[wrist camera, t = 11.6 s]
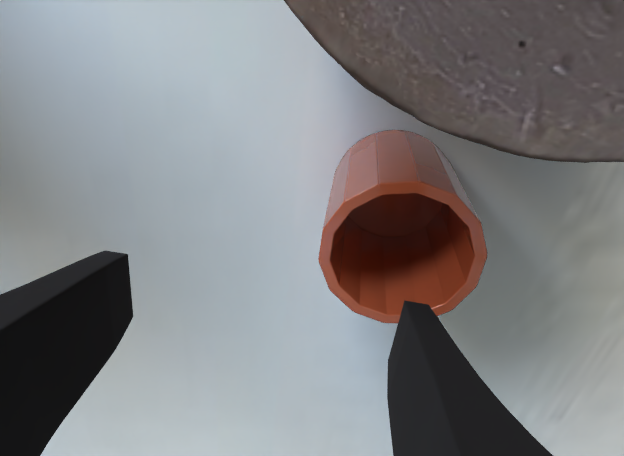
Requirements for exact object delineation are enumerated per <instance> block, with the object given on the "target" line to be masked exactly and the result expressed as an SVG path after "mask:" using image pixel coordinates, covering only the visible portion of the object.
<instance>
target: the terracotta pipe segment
mask: <svg viewBox="0 0 624 456" xmlns="http://www.w3.org/2000/svg"><path fill="white" fill-rule="evenodd" d="M486 259H487V249H486V244H485V239H484V234H483V229H482V224H481V222H480V220H479V218H478V216H477V214H476V212H475V210H474V208H473V206H472V204H471V202H470V200H469V198H468V196H467V195H466V193H465V191H464V189H463V187H462V185H461V183H460V181H459V179H458V177H457V175H456V173H455V171H454V170H453V168H452V166H451V164H450V162H449V161H448V160H447V158H446V157H445V156H444V154H443V153H442V152H441V150H440V149H439V148H438V147H437V146H436V145H435V144H434V143H433V142H431V141H430V140H428V139H427V138H425V137H423V136H421V135H419V134H416V133H413V132H409V131H404V130H387V131H382V132H377V133H374V134H371V135H369V136H367V137H365V138H363V139H361V140H360V141H358V142H357V143H356V144H354V145H353V146H352V147H351V148H350V149H349V150H348V151H347V152H346V153H345V155H344V156H343V158H342V159H341V161H340V163H339V165H338V167H337V169H336V171H335V174H334V179H333V184H332V189H331V193H330V198H329V203H328V207H327V212H326V217H325V222H324V226H323V232H322V239H321V245H320V252H319V264H320V266H321V269H322V271H323V274H324V277H325V279H326V282H327V285H328V287H329V289H330V291H331V292H332V293H333V294H335V295H336V296H337V297H338V298H339V299H340V300H341V301H342V302H343V303H344V304H345V305H346V306H348V307H349V308H350V309H351V310H352V311H354V312H355V313H358V314H361V315H363V316H366V317H369V318H372V319H374V320H377V321H380V322H383V323H398V322H399V319H400V315H401V311H402V307H403V304H404V300H405V301H411V302H417V303H423V304H429V306H430V307H431V309H432V310H433V312H434V313H435V314H436V316H439V315H441V314H444V313H446V312H449V311H451V310H453V309H454V308H455V307H456V306H457V305H458V304H459V303H460V302H461V301H462V300H463V299H464V298H465V297H466V296H467V295H468V294H470V293H471V292H472V291H473V290H474V289H475V288H476V286H477V284H478V281H479V279H480V276H481V273H482V270H483V267H484V264H485V261H486Z"/></svg>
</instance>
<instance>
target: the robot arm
mask: <svg viewBox="0 0 624 456" xmlns="http://www.w3.org/2000/svg"><path fill="white" fill-rule="evenodd" d="M132 318H133V310H132V298H131V286H130V274H129V263H128V254H123V253H117V252H111V251H103V252H100V253H97V254H94V255H92V256H89V257H87V258H85V259H82V260H80V261H78V262H75V263H73V264H71V265H69V266H66V267H64V268H62V269H60V270H57V271H55V272H53V273H50V274H48V275H46V276H44V277H41V278H39V279H37V280H35V281H32V282H30V283H28V284H25V285H23V286H21V287H18V288H16V289H13V290H11V291H8V292H6V293H3V294H1V295H0V456H40V455H41V453H42V452H43V450H44V448H45V447H46V445H47V443H48V442H49V440H50V439H51V437H52V436H53V434H54V433H55V432H56V430H57V429H58V427H59V426H60V424H61V423H62V421H63V420H64V419H65V417H66V416H67V415H68V413H69V412H70V411H71V409H72V408H73V407H74V405H75V404H76V403H77V401H78V400H79V399H80V397H81V396H82V395H83V393H84V392H85V390H86V389H87V388H88V386H89V385H90V384H91V382H92V381H93V380H94V378H95V377H96V376H97V374H98V373H99V372H100V370H101V369H102V367H103V366H104V365H105V363H106V362H107V361H108V359H109V358H110V356H111V355H112V354H113V352H114V351H115V349H116V347H117V346H118V344H119V342H120V340H121V339H122V337H123V335H124V333H125V331H126V329H127V328H128V326H129V324H130V322H131V320H132ZM388 408H389V418H390V427H391V436H392V446H393V455H394V456H553V455H552V454H551V453H550V452H549V451H547V450H546V449H545V448H544V447H543V446H542V445H541V444H540V443H539V442H538V441H537V440H536V439H535V438H534V437H533V436H532V435H531V434H530V433H529V432H528V431H527V430H526V429H525V428H524V427H523V426H522V424H521V423H520V422H519V421H518V420H517V419H516V418H515V417H514V416H513V415H512V414H511V413H510V412H509V411H508V410H507V409H506V407H505V406H504V405H503V404H502V403H501V402H500V401H499V400H498V398H497V397H496V396H495V395H494V394H493V392H492V391H491V390H490V389H489V388H488V386H487V385H486V384H485V383H484V382H483V380H482V379H481V378H480V377H479V375H478V374H477V373H476V371H475V370H474V369H473V368H472V366H471V365H470V363H469V362H468V361H467V359H466V358H465V357H464V355H463V354H462V353H461V351H460V350H459V348H458V347H457V346H456V344H455V343H454V341H453V340H452V338H451V337H450V335H449V334H448V332H447V331H446V329H445V328H444V326H443V325H442V323H441V322H440V320H439V319H438V317H437V316H436V314H435V313H434V312H433V310H432V309H431V307H430V306H429V304H423V303H417V302H411V301H405V300H404V304H403V307H402V311H401V315H400V319H399V322H398V326H397V330H396V333H395V337H394V341H393V345H392V348H391V352H390V356H389V359H388Z"/></svg>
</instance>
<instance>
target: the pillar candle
mask: <svg viewBox="0 0 624 456" xmlns="http://www.w3.org/2000/svg"><path fill="white" fill-rule="evenodd" d="M284 1H285V2H286V4H287V5H288V6H289V8H290V9H291V11H292V12H293V13H294V14H295V15H296V17H297V18H298V19H299V20H300V21H301V23H302V24H303V25H304V26H305V28H306V29H307V30H308V31H309V32H310V34H311V35H312V36H313V37H314V39H315V40H316V41H317V42H318V43H319V44H320V45H321V46H322V47H323V49H324V50H325V51H326V52H327V53H328V54H329V55H330V56H331V57H333V58H334V59H335V60H336V62H337V63H338V64H340V65H341V66H342V67H343V68H344V69H345V70H346V71H347V72H348V73H349V74H350V75H351V76H352V77H353V78H354V79H355V80H357V81H358V82H359V83H360V84H361V85H362V86H363V87H365V88H366V89H368V90H369V91H371V92H372V93H374V94H376V95H377V96H379V97H381V98H383V99H384V100H386V101H387V102H389V103H390V104H391V105H393V106H395V107H397V108H399V109H401V110H402V111H404V112H406V113H408V114H410V115H412V116H413V117H415V118H416V119H418V120H419V121H421V122H423V123H425V124H427V125H429V126H431V127H434V128H436V129H438V130H441V131H443V132H446V133H449V134H451V135H454V136H456V137H460V138H463V139H466V140H469V141H472V142H475V143H479V144H482V145H486V146H489V147H492V148H494V149H497V150H500V151H504V152H507V153H511V154H515V155H518V156H524V157H529V158H534V159H542V160H548V161H560V162H584V163H587V162H624V0H284Z"/></svg>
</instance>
